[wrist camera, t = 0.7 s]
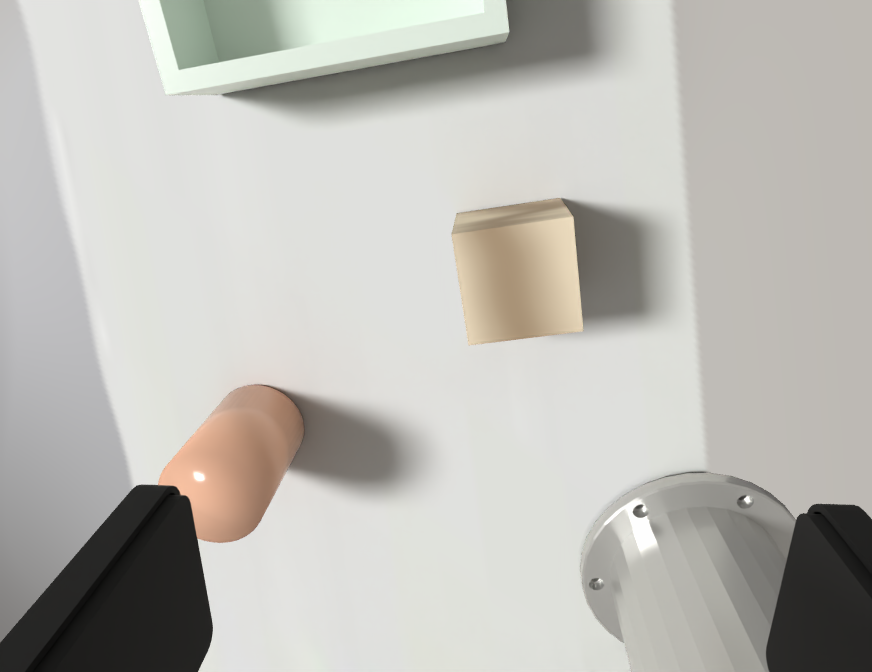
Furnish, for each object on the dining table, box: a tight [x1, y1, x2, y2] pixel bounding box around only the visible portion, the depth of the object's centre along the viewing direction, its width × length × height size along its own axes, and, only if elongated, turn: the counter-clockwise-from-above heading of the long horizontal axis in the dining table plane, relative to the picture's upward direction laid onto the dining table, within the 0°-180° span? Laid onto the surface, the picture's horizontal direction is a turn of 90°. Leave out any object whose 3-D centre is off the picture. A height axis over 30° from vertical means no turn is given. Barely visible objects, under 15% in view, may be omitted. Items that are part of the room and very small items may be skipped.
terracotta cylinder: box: [158, 385, 304, 543], centre depth 33 cm, size 5×5×7 cm
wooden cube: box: [452, 198, 583, 345], centre depth 29 cm, size 5×5×5 cm
